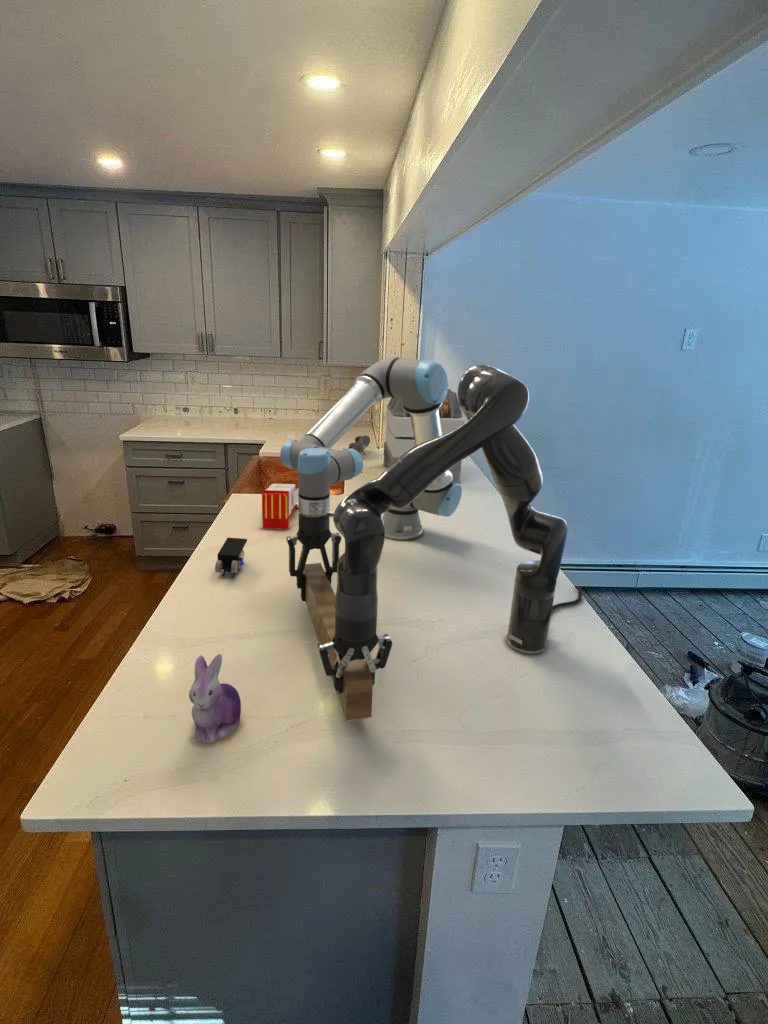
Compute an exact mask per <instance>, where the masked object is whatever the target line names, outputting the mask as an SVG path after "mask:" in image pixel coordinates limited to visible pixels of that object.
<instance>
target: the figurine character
mask: <svg viewBox="0 0 768 1024" xmlns="http://www.w3.org/2000/svg"><path fill="white" fill-rule="evenodd" d="M247 542H248V538H240V537H226V539H225V541H224V543H223V544H222V546H221V547H220V549H219V551H218V552H217V560H216V562H215V564H214V572H215V573H221V577H222V578H224V577H225V576H226V574H227V573H230V574H231V573H232V574H231V578H234V577H235V575H236V573H237V572H239V571H240V567H242V566H243V565H244V564H245V562H244V558H245V551H244V547H245V546H246V544H247Z"/></svg>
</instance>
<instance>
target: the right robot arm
mask: <svg viewBox="0 0 768 1024" xmlns="http://www.w3.org/2000/svg"><path fill="white" fill-rule="evenodd" d="M457 398H458V402H459V405H460V408H461V412H462V414H463V415H464V417H465V418H466V419H467V421H464V424H463V425H461V426H460V427H458V428H456V429H454V430H452V431H451V432H449V433H446V434H444V435H442V436H439V437H437V438H434V439H431V440H429V441H426V442H423V443H421V444H419V445H417V446H415V447H413V448H411V449H410V450H408V451H407V452H405V453H404V454H403V455H401V456H400V457H399V458H398V459H397V460H396V461H395V462H394V463H393V464H392V465H390V466H389V467H387V468H386V469H385V470H384V471H383V472H381V474H380V475H379V476H377V477H375V478H374V479H372V480H370V481H368V482H367V483H365V484H363V485H361V486H360V487H358V488H357V489H355V490H353V491H351V492H350V493H349V494H347V495H346V496H345V497H344V498H343V499H341V501H340V502H339V503H338V505H336V508H335V510H334V512H333V514H334V516H332V517H333V518H332V519H333V524H334V527H335V528H336V530H337V532H338V533H339V534H340V536H341V537H342V538H344V553H342V554H341V555H340V556H339V561H338V566H337V572H336V592H335V596H336V597H335V636H334V638H333V639H332V642H329V643H326V644H324V643H323V642H320V643H319V642H318V643H317V649H318V653H319V655H320V659H321V663H322V666H323V669H324V672H325V675H326V676H327V677H331V675H333V682H332V685H333V688H334V691H335V690H336V691H338V693H343V676H342V674H343V672H344V670H345V668H347V665H348V663H349V661H353V660H356V659H358V660H362V659H364V660H365V662H366V664H367V666H368V668H369V671H370V673H371V675H372V677H373V686H374V685H375V682H376V679H375V678H376V672H377V670H379V669H382V670H383V669H385V668H386V666H387V662H388V659H389V656H390V653H391V650H392V646H393V641H392V639H391V637H390V635H389V634H387V633H384V634H383V635H377V630H378V629H377V627H378V626H377V625H378V606H379V603H378V600H379V597H378V565H379V563H380V559H381V556H382V553H383V549H384V545H385V541H386V537H385V524H384V520H383V515H384V513H385V512H386V511H387V510H389V509H392V508H393V509H403V508H405V507H406V506H408V505H409V504H410V503H411V502H412V501H413V500H415V499H416V498H417V497H418V496H419V495H420V494H421V493H422V492H423V491H424V490H425V489H426V488H428V487H429V486H430V485H431V484H432V483H433V482H434V481H435V480H436V479H438V478H439V477H440V476H441V475H442V474H444V473H445V472H446V471H447V470H449V469H450V468H452V467H453V466H454V465H456V464H457V463H459V462H460V461H463V460H465V459H466V458H468V457H469V456H471V455H472V454H474V453H475V452H477V451H479V450H480V449H481V450H482V453H483V456H484V458H485V460H486V462H487V465H488V468H489V470H490V472H491V476H492V478H493V481H494V484H495V486H496V489H497V491H498V492H499V495H500V498H501V500H502V502H503V505H504V509H505V511H506V514H507V517H508V522H509V527H510V531H511V536H512V538H513V540H514V542H515V544H516V546H518V547H519V548H521V549H522V550H524V551H527V552H530V553H534V554H537V555H540V560H526V561H523V562H522V561H521V562H520V563H518V565H517V566H516V571H515V576H514V585H513V591H512V599H511V607H510V614H509V620H508V628H507V629H508V630H507V635H506V640H505V641H506V644H507V645H508V647H510V648H511V649H512V650H514V651H516V652H519V653H521V654H526V655H538V654H542V653H544V652H545V651H546V650H547V641H548V635H549V630H550V624H551V619H552V612H554V611H555V610H556V609H558V608H561V607H568V606H572V605H573V606H574V605H577V604H579V603H580V602H581V601H582V599H583V592H582V588H581V586H580V585H576V586H575V589H576V590H577V593H578V596H577V598H576V599H575V600H570V601H565V602H560V603H556V604H554V599H555V593H556V588H557V587H556V586H557V580H558V576H559V574H560V569H561V565H562V562H563V561H562V560H563V556H564V551H565V547H566V542H567V538H568V531H569V529H568V523H567V521H566V520H565V519H564V518H562V517H560V516H556V515H552V514H549V513H545V512H543V511H539V510H536V509H535V508H534V507H533V505H532V502H533V501H534V500H535V499H536V498H537V496H538V495H539V494H540V492H541V489H542V486H543V482H544V481H543V480H544V479H543V473H542V470H541V466H540V463H539V460H538V458H537V457H538V456H537V455H536V453H535V451H534V449H533V448H532V446H531V445H530V443H529V442H528V440H527V439H526V438H525V437H524V435H523V434H522V432H520V431H519V429H518V428H517V427H516V425H515V424H516V423H517V422H518V421H519V420H521V418H522V417H523V415H524V414H525V412H526V411H527V408H528V405H529V401H530V391H529V389H528V387H527V385H526V384H525V383H524V382H523V381H521V380H520V379H518V378H516V377H515V376H513V375H511V374H509V373H506V372H505V371H504V370H501V369H498V368H497V367H494V366H492V365H488V364H476V365H474V366H473V365H472V366H471V367H469V368H468V369H466V370H465V372H463V375H462V376H461V378H460V380H459V382H458V385H457ZM377 645H378V646H379V647H378V650H377V654H376V657H375V659H373V656H372V654H371V652H372V651H374V648H376V646H377ZM332 649H335V650H336V651H337V652H338V653H337V656H336V661H335V664H334V665H330V662H329V658H328V656H330V655H331V651H332ZM336 691H335V692H336Z"/></svg>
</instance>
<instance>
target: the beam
mask: <svg viewBox="0 0 768 1024" xmlns="http://www.w3.org/2000/svg"><path fill="white" fill-rule="evenodd" d="M325 572H326V571H325V568H324V566H323V565H322V563H321V562H315V563H314V562H313V563H306V564H305V568H304V572H303V574H304V576H305V601H304V604H305V606H306V609H307V612H308V615H309V618H310V621H311V624H312V628H313V630H314V632H315V635H316V638H317V641H318V643H320V642H323V643H324V644H326V643H329V642H332V639H333V638H334V636H335V597H336V593H335V591H334V589H333V587H332V584H331V585H330V583H329V580H328V578H327V576H326V574H325ZM337 653H338V652H337V651H336V650H335V649H332V651H331V655H330V656H328V658H329V662H330V665H334V664H335V661H336V656H337ZM342 676H343V693H338V691H336V690H335V689H334V691H335V694H336V696H337V699H338V702H339V705H340V708H341V712H342V714H343V717H344V719H345V721H346V722H350V721H356V720H361V719H365V718H367V719H368V718H372V714H373V692H374V685H373V677H372V675H371V673H370V671H369V668H368V666H367V663H366V661H365V659H362V660H358V659H356V660H353V661H349V663H348V665H347V668H345V670H344V672H343V674H342ZM330 679H331V682H332V683H333V675H331V676H330Z"/></svg>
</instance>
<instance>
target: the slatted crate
mask: <svg viewBox="0 0 768 1024" xmlns="http://www.w3.org/2000/svg"><path fill="white" fill-rule="evenodd" d="M447 390H448V392H447V395H446V398H445V399H444V401H443V402H442V405H441V406H440V407H439V408H438V410H439V417H440V424H441V431H442V435H444V434H446V433H449V432H451V431H452V430H454V429H456V428H458V427H460V426H461V425H463V424H464V423H465V422H466V421H465V419H464V418H463V411H462V409H461V407H460V405H459V401H458V394H457V392H455V391H453V390H452V389H451V388H447ZM385 414H386V415H385V423H386V428H385V438H384V442H383V466H384V467H387V468H388V467H389V466H390V465H392V464H393V463H394V462H395V461H396V460H397V459H398V458H399V457H400V456H401V455H403V454H404V453H405V452H407V451H408V450H410V449H411V448H413V447H415V440H414V434H413V429H412V423H411V417H410V413H408V412H406V411H405V410H404V407H403V402H402V399H398V398H393V397H390V400H389V402H388V404H387V405H386V413H385ZM462 461H463V460H462ZM462 461H460V462H459V463H457V464H456V465H454V466H453V467H452V468H450V469H449V471H450V472H451V473H452V476H453V482H454V483H458V484H459V483H461V472H462Z"/></svg>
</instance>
